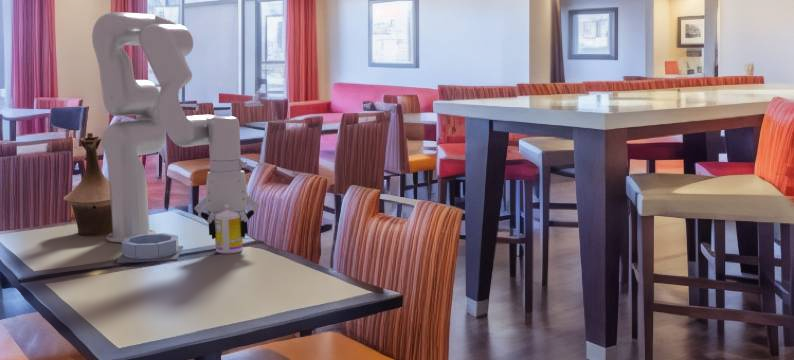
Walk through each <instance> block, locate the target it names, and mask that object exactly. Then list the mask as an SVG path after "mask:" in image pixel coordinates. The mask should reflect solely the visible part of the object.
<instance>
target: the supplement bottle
mask: <svg viewBox="0 0 794 360" xmlns="http://www.w3.org/2000/svg"><path fill="white" fill-rule="evenodd" d="M224 207H226V208H229V207H230V206H229V205H228V204H225V205H224ZM213 219H214V223H215V238H214V240H215V241H214V242H215V250H216V253H219V254H227V255H228V254H237V253H240V252H242V251H243V248H244V247H243V237H242V227H241V222H242V217H241V215H240V213H239V212H233V211H229V210H228V209H226V210H225V211H223V212H219V213H216V214H215V216H214V218H213Z"/></svg>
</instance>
